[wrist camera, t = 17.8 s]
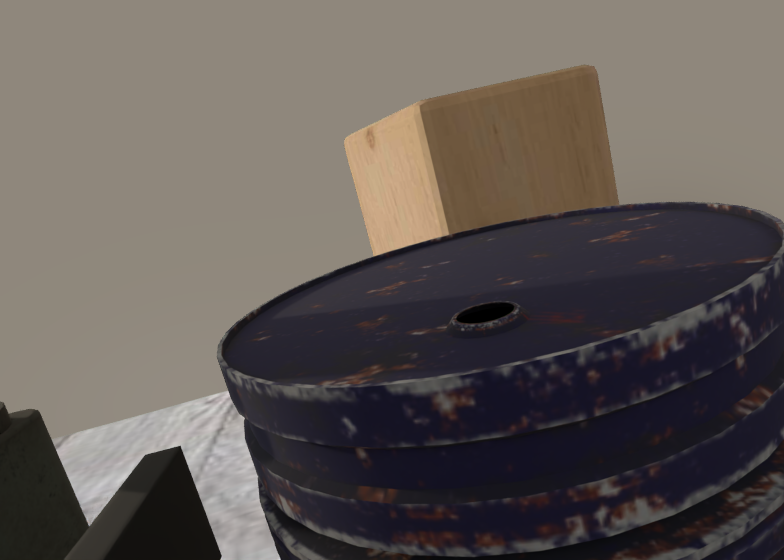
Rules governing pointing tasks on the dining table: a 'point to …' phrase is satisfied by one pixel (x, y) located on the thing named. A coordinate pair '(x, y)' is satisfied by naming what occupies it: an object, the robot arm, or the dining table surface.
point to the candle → (34, 492)
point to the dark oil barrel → (528, 393)
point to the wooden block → (483, 158)
